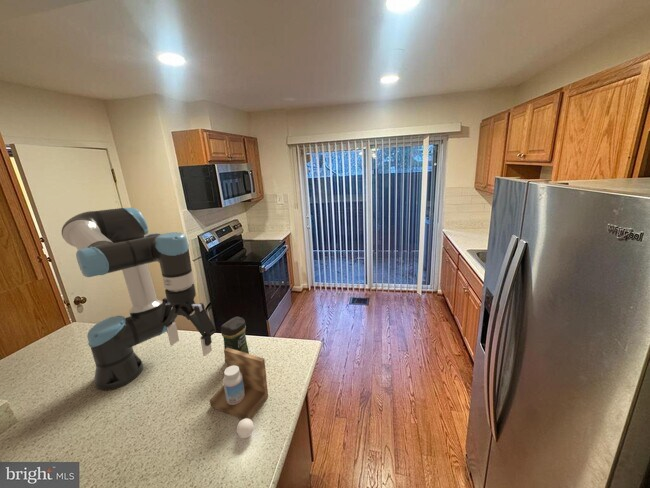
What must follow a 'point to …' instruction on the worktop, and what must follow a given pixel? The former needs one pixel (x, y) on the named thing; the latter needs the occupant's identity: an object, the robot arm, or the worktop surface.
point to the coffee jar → (235, 334)
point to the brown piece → (253, 385)
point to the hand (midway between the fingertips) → (190, 347)
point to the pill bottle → (233, 385)
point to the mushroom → (245, 428)
